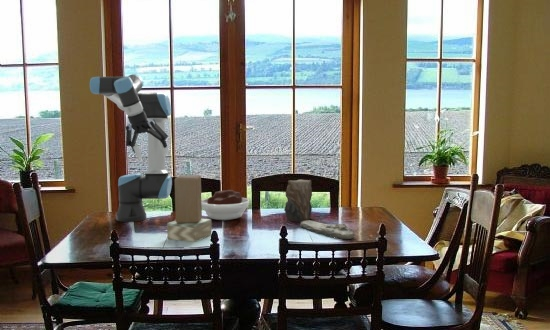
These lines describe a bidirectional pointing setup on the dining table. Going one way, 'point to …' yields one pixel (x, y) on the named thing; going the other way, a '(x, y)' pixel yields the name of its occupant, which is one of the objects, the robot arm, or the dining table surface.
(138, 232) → the dining table surface
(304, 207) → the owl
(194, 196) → the wooden block
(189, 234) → the birch step
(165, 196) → the robot arm
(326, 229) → the elongated rock
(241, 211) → the white bowl of dessert
